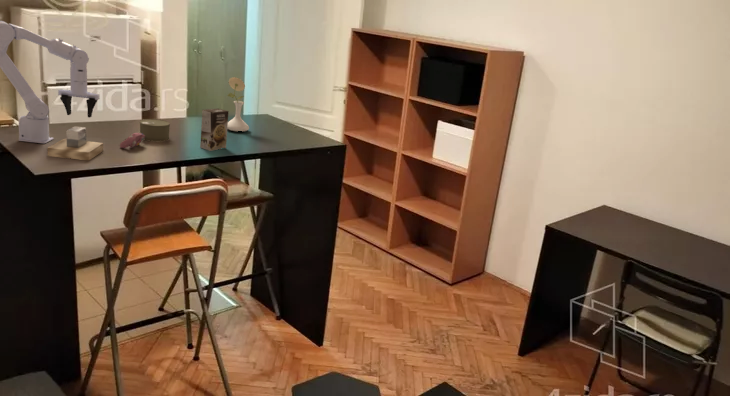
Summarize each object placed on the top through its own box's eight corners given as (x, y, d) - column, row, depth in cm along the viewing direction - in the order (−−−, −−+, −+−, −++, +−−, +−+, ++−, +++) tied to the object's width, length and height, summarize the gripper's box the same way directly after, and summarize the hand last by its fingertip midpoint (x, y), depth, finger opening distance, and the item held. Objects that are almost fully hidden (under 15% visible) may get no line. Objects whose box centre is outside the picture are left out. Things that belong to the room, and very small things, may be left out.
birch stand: (47, 156, 204) (47, 147, 203) (64, 146, 218) (64, 138, 217) (89, 160, 206) (88, 152, 205) (103, 150, 219) (103, 143, 218)
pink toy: (127, 153, 225) (135, 139, 223) (118, 146, 225) (125, 132, 223) (141, 148, 235) (149, 134, 232) (132, 141, 235) (139, 127, 232)
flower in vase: (253, 132, 281) (257, 80, 273) (236, 134, 271) (240, 80, 263) (234, 125, 287) (237, 75, 279) (217, 128, 278) (220, 75, 270)
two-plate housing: (66, 146, 208) (66, 130, 206) (75, 142, 214) (74, 126, 212) (78, 148, 208) (78, 131, 206) (86, 143, 215) (86, 127, 213)
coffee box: (210, 151, 239) (212, 112, 233) (199, 147, 242) (201, 109, 236) (226, 148, 246) (229, 110, 241) (215, 144, 249) (218, 107, 244)
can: (174, 140, 247) (175, 124, 244) (148, 142, 238) (148, 126, 236) (160, 133, 254) (161, 118, 252) (134, 135, 245) (134, 119, 243)
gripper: (102, 81, 226) (102, 116, 231) (63, 76, 225) (64, 111, 229) (95, 84, 220) (95, 119, 224) (55, 79, 218) (56, 114, 222)
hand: (79, 115), depth 226 cm, fingers open, 7 cm apart
